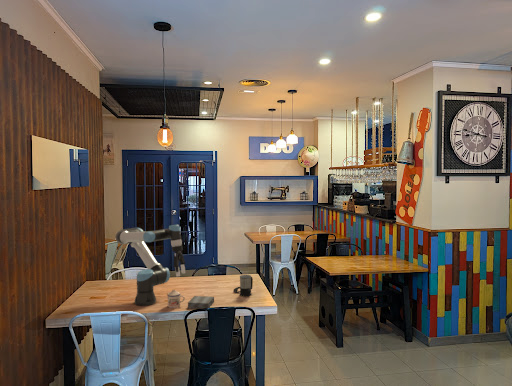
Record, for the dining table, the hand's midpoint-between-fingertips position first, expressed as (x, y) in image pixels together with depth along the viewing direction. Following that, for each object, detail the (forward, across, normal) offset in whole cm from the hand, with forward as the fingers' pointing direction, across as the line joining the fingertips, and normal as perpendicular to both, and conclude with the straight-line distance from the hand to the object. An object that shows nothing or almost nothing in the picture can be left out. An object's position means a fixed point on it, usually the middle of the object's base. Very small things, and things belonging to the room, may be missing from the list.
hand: (181, 274), depth 271 cm
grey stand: (+23, -1, -12) cm, 26 cm away
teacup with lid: (+21, -4, +6) cm, 22 cm away
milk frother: (+25, +28, -38) cm, 53 cm away
